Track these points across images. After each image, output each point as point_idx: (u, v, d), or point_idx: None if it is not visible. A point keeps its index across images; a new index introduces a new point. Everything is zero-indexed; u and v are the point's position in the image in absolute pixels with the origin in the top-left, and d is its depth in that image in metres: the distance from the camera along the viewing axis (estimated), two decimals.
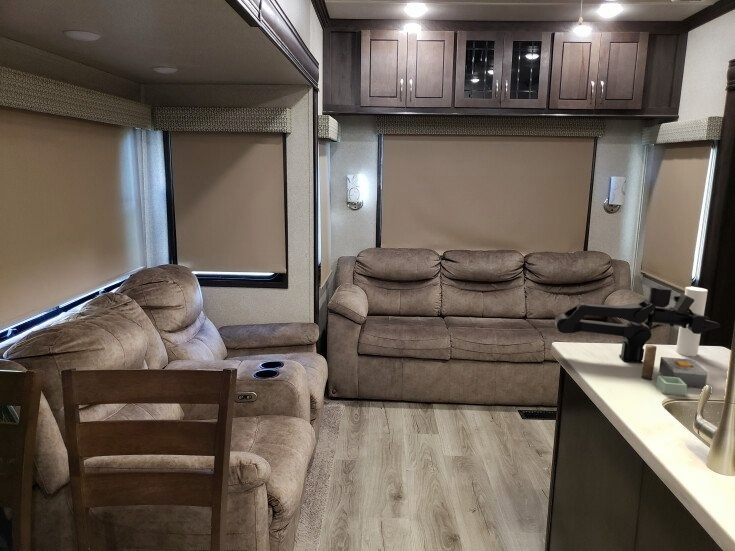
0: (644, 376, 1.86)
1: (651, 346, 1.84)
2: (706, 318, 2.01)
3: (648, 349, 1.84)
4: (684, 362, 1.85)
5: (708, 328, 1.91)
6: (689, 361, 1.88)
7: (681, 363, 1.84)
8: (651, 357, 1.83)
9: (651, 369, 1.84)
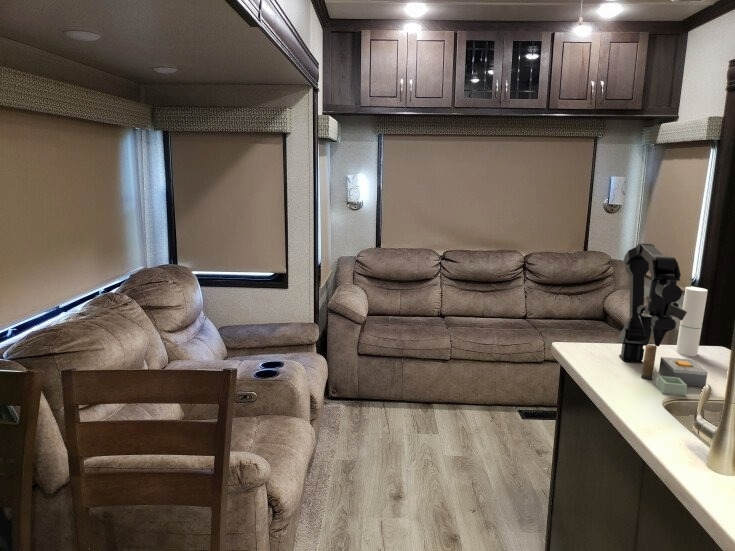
0: (644, 376, 1.86)
1: (651, 346, 1.84)
2: (648, 334, 1.88)
3: (648, 349, 1.84)
4: (684, 362, 1.85)
5: (655, 335, 1.78)
6: (689, 361, 1.88)
7: (681, 363, 1.84)
8: (651, 357, 1.83)
9: (651, 369, 1.84)
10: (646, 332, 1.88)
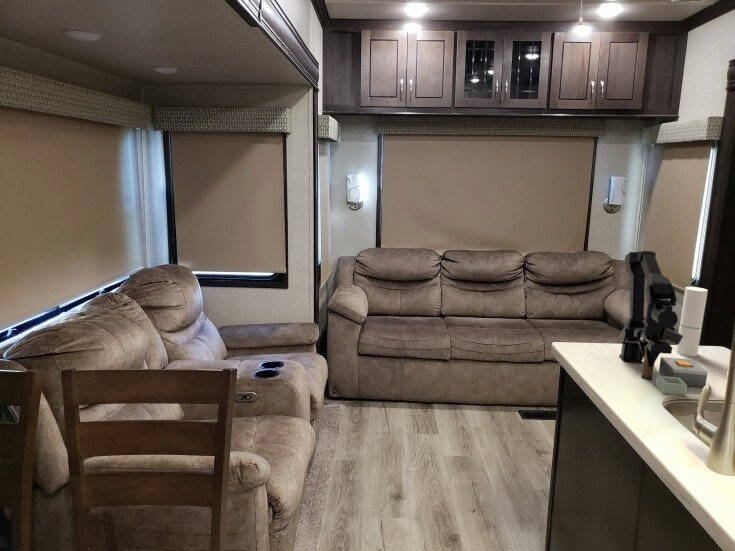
0: (644, 376, 1.86)
1: None
2: None
3: None
4: (684, 362, 1.85)
5: (649, 356, 1.82)
6: (689, 361, 1.88)
7: (681, 363, 1.84)
8: None
9: (651, 369, 1.84)
10: None
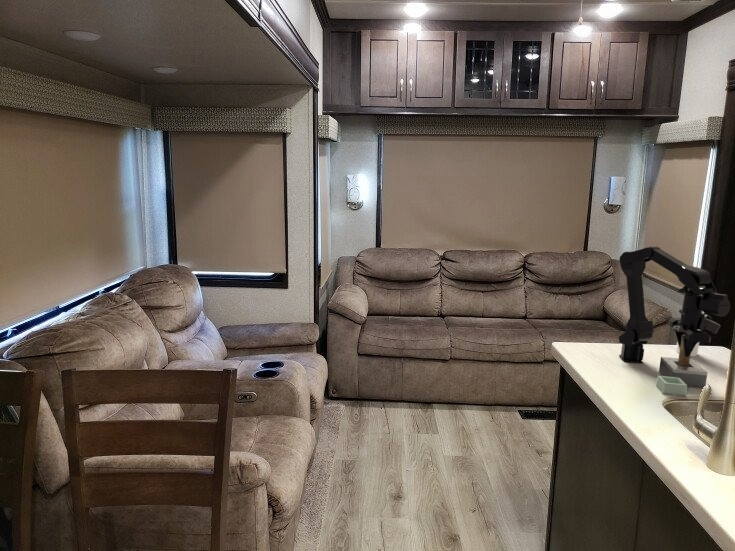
0: None
1: None
2: None
3: None
4: None
5: (686, 346, 1.81)
6: (689, 361, 1.88)
7: None
8: None
9: (688, 359, 1.83)
10: None
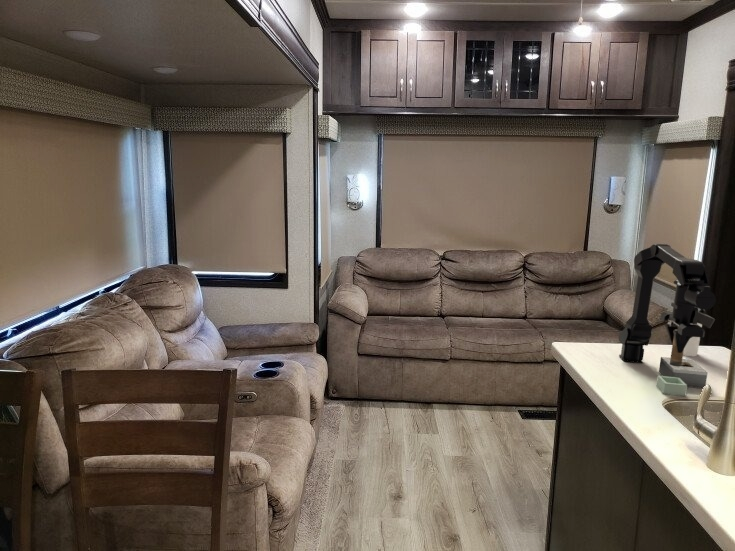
0: (672, 362, 1.74)
1: None
2: None
3: None
4: None
5: (678, 341, 1.70)
6: (689, 361, 1.88)
7: None
8: None
9: (681, 355, 1.72)
10: None
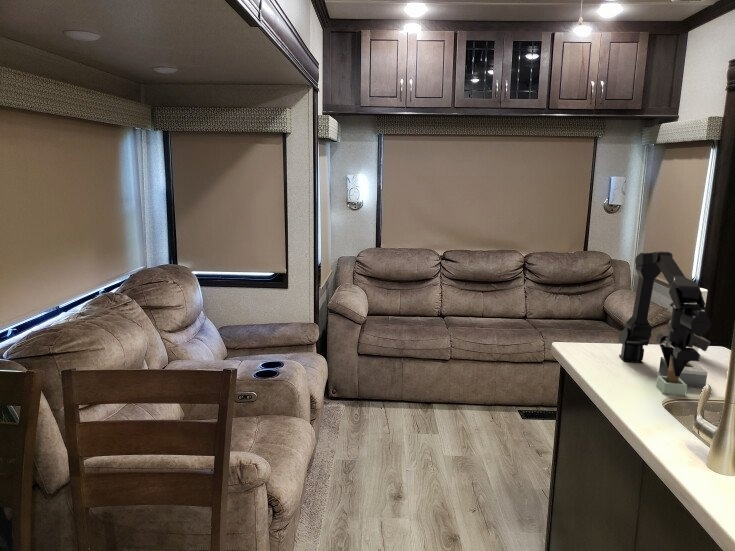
0: None
1: None
2: None
3: None
4: None
5: (675, 365, 1.70)
6: None
7: None
8: None
9: (676, 380, 1.74)
10: (668, 364, 1.78)
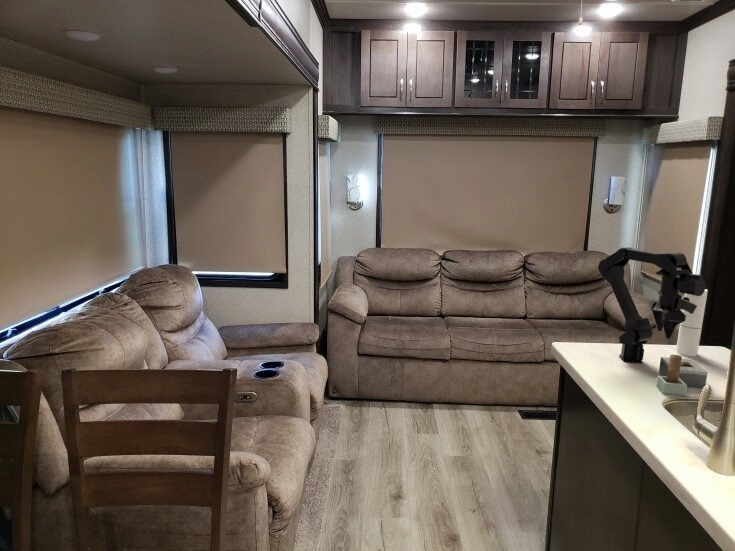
0: None
1: (676, 356, 1.74)
2: (660, 328, 1.96)
3: (673, 359, 1.73)
4: None
5: (666, 328, 1.86)
6: (689, 361, 1.88)
7: None
8: (676, 367, 1.73)
9: (676, 380, 1.74)
10: (658, 326, 1.96)
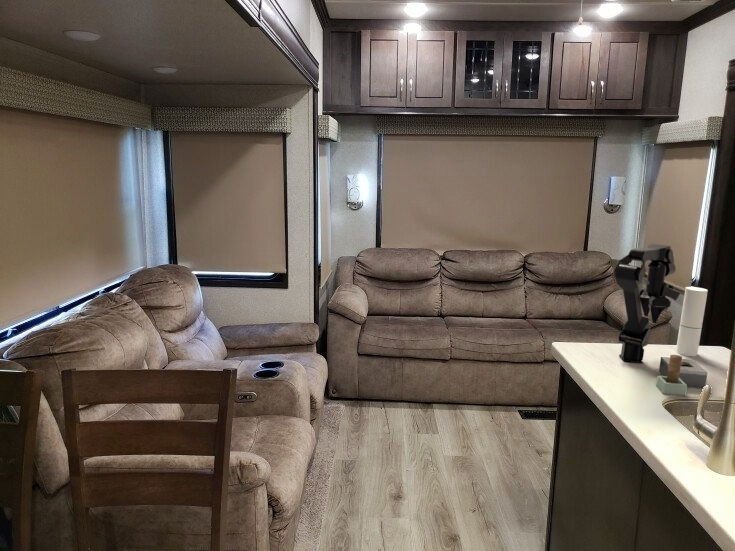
0: None
1: (676, 356, 1.74)
2: (647, 314, 2.14)
3: (673, 360, 1.73)
4: None
5: (652, 313, 2.04)
6: (689, 361, 1.88)
7: None
8: (676, 368, 1.73)
9: (676, 380, 1.74)
10: (645, 311, 2.14)
